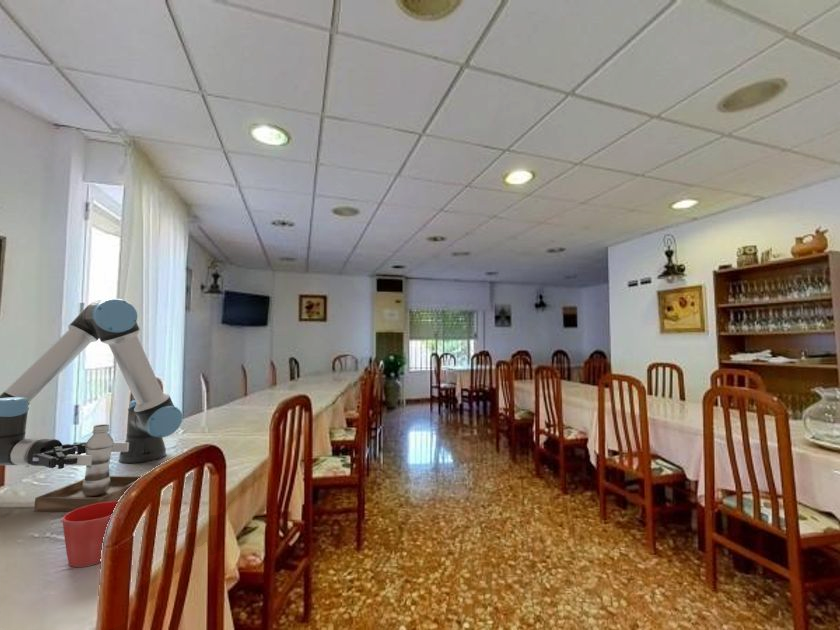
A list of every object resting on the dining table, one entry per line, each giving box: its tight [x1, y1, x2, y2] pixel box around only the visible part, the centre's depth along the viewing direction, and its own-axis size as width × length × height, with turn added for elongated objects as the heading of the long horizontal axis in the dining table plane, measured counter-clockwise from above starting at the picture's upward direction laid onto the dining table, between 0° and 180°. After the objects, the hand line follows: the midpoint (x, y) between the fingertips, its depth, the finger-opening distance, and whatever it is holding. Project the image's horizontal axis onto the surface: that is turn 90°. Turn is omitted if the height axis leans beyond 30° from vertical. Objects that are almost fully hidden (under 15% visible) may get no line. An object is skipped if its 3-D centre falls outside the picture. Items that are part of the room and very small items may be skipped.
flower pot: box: [61, 501, 118, 568], centre depth 81 cm, size 11×11×10 cm
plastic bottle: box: [82, 423, 115, 496], centre depth 112 cm, size 6×7×20 cm
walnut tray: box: [33, 475, 142, 513], centre depth 111 cm, size 18×18×4 cm
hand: (110, 453), depth 112 cm, fingers open, 13 cm apart
